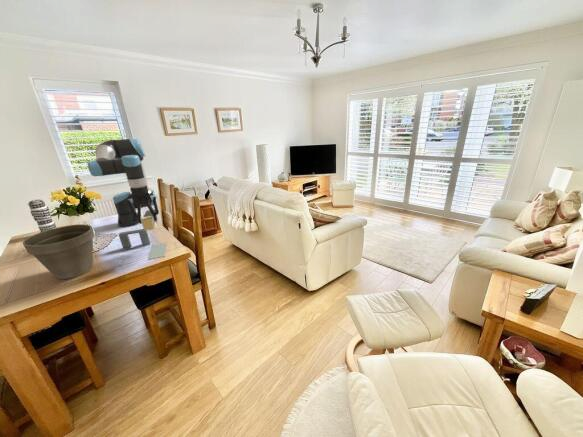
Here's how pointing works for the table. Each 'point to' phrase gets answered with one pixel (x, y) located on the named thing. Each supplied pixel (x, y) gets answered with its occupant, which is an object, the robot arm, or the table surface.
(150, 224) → the two-tone upright block
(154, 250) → the mat
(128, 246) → the frame
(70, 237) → the plant pot
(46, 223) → the decorative candle
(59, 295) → the table surface
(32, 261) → the table surface
